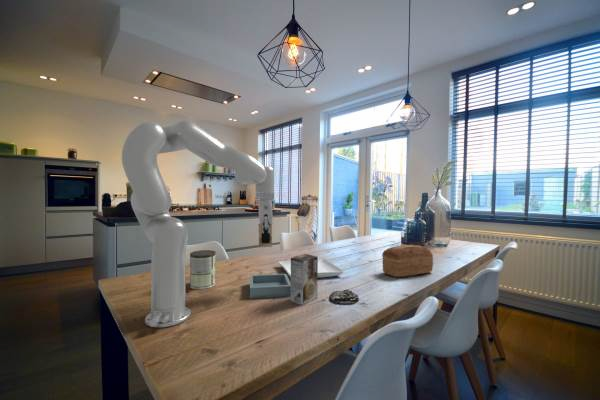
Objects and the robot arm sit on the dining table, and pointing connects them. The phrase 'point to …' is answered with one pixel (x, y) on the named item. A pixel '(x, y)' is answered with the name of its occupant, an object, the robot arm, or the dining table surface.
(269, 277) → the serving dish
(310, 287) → the coffee box
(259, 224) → the oak block
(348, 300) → the dark grey coiled lump
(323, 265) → the square plate
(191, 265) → the coffee can
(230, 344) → the dining table surface
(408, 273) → the bread
